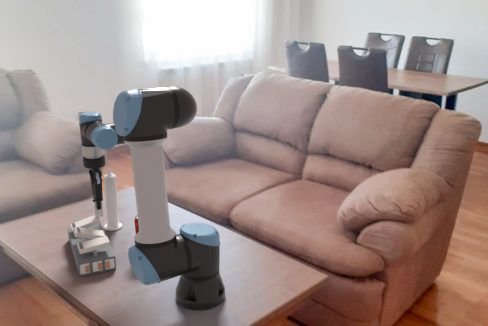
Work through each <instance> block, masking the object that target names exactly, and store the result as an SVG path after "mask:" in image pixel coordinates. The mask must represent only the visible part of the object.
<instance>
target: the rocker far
mask: <svg viewBox="0 0 488 326" xmlns="http://www.w3.org/2000/svg"><path fill="white" fill-rule="evenodd" d="M99 223H101V220H100V217H95V214H93V215H91V216H89V217H88V216H87V217H85V218H83V219H80V220H77V221H75V222H72V223H71V224H70V228H72V231H73V233H74V227H79V228H89V227H92V226H94V225H97V224H99ZM101 224H102V223H101Z"/></svg>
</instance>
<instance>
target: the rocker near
mask: <svg viewBox="0 0 488 326" xmlns="http://www.w3.org/2000/svg"><path fill="white" fill-rule="evenodd" d="M110 245H111V242H110V240H109V237H108V235H106V236H103V237H100V238H96V239H92V240H88V241H85V242H81V243H77V246H78V250H79V253H80V254H83V253H87V252H91V251H94V250H98V249H101V248H105V247H109V246H110Z"/></svg>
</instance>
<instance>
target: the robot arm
mask: <svg viewBox="0 0 488 326" xmlns="http://www.w3.org/2000/svg"><path fill="white" fill-rule="evenodd" d="M197 109H198V107H197V102H196V99H195V98H194V96H193V95H192V94H191V92H189V91H188V90H186V89H185V88H182V87H180V86H174V85H170V86H169V85H168V86H160V87H145V88H144V87H143V88H133V89H132V88H131V89H128V90H122V91H121V92H119V93H118V95H117V96H116V97H115V100H114V103H113V109H112V121H113V122H109V123H103V118H102V114H101V113H100V112H98V111H86V112H82V113H80V114H79V116H78V125H79V133H80V142H81V153H82V154H81V155H82V156H83V157H82V163H83V167H84V168H86V169H89V170H88V174H89V181H90V185H91V193H92V194H91V195H92V196H93V197H92V202H93V208H94V215H95V217H99V218H100V217H101V218H102V217H104V209H103V208H104V207H103V200H104V197H103V196H104V195H103V173H102V171H101V168H103V167H105V166H106V155H104V154H105V151H107V150H111V149H112V148H115V146H119V145H124V144H126V145H128V147H130V157H131V166H132V167H131V168H132V176H133V177H132V178H133V185H134V187H133V188H134V195H135V202H136V203H135V205H136V206H135V207H136V212H137V213H136V214H137V215H138V225H139V232H138V233H137V234H136V233H135V235H134V238H133V240H134V245H131V246H129V248H128V251H127V252H128V253H127V255H128V260H129V264H130V267H131V269H132V272H133V273H134V276H135V277H136V278H137V280H138V282H139V283H141V284H143V285H145V286H151V285H155V284H160V283H162V282H165V281H167V280H171V279H173V278H177V277H179V279H178V282H177V284H176V288H175V300H176V302H177V303H178V304H179V305H180V306H181V307H182V306H183V307H184V308H186V309H189V310H195V311H201V310H210V309H213V308H214V307H217V306H219V305H221V303H222V302H223V301H224V300H225V298H226V287H225V284H224V282H223V279H222V276H221V273H220V256H221V255H220V251H221V250H220V249H221V239H220V231H218V229H217V228H215V226H213V225H210V224H208V223H204V222H187V223H184V224H182V225H181V226H180V227H179V233H177V232H176V230H174V229H173V228H172V227H171V220H170V212H169V201H168V200H169V199H168V191H167V190H168V189H167V181H166V169H165V167H166V166H165V157H164V147H163V144H164V143H165V141H167V140H168V131H169V130H173V129H178V128H182V127H185V126H188V125H189V124H190V123H191V122H193V120H194V119H195V118H196V115H197V112H198V110H197ZM137 215H136V216H137Z"/></svg>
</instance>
